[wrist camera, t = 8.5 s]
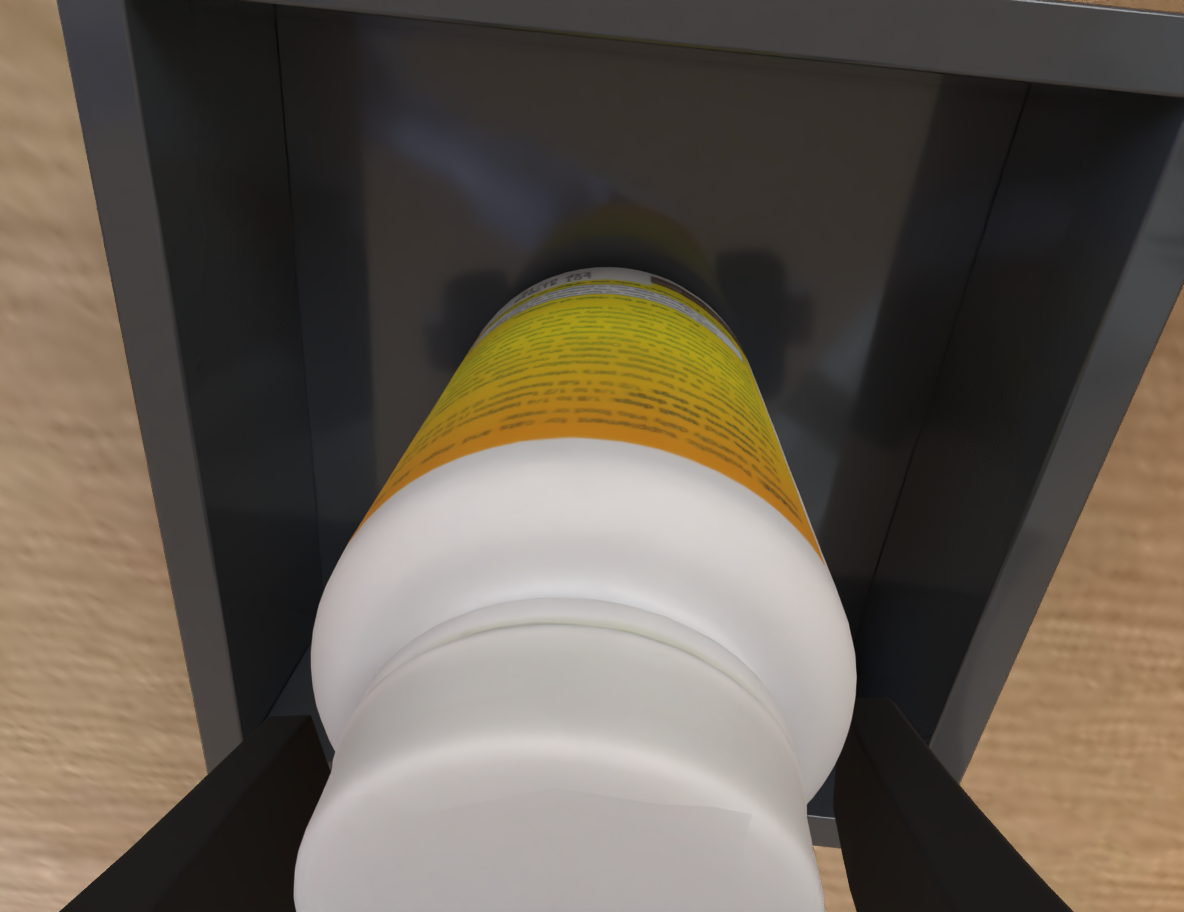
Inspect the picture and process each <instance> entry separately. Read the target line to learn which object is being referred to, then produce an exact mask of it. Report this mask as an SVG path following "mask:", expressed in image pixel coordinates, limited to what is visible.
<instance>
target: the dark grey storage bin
mask: <svg viewBox="0 0 1184 912" xmlns="http://www.w3.org/2000/svg"><path fill="white" fill-rule="evenodd" d="M57 5H58V10H59V15H60V21H61V26H62V31H63V36H64V41H65V46H66V51H67V56H68V61H69V67H70V72H71V77H72V82H73V87H74V92H75V97H76V102H77V108H78V113H79V118H80V123H81V128H82V133H83V138H84V143H85V149H86V154H87V159H88V164H89V169H90V174H91V179H92V184H93V189H94V195H95V200H96V205H97V210H98V215H99V220H100V225H101V230H102V236H103V241H104V246H105V251H106V256H107V261H108V266H109V271H110V277H111V282H112V287H113V292H114V297H115V302H116V307H117V312H118V317H119V323H120V328H121V333H122V338H123V343H124V348H125V353H126V358H127V364H128V369H129V374H130V379H131V384H132V389H133V394H134V399H135V405H136V410H137V415H138V420H139V425H140V430H141V435H142V440H143V446H144V451H145V456H146V461H147V466H148V471H149V476H150V481H151V486H152V492H153V497H154V502H155V507H156V512H157V517H158V522H159V527H160V533H161V538H162V543H163V548H164V553H165V558H166V563H167V568H168V574H169V579H170V584H171V589H172V594H173V599H174V604H175V609H176V614H177V620H178V625H179V630H180V635H181V640H182V645H183V650H184V655H185V661H186V666H187V671H188V676H189V681H190V686H191V691H192V696H193V702H194V707H195V712H196V717H197V722H198V727H199V732H200V737H201V743H202V748H203V753H204V758H205V763H206V768H207V773H208V774H209V773H210V772H211V771H212V770H213V769H214V768H215V767H216V766H217V765H218V764H219V763H220V762H221V761H223V760H224V759H225V758H226V757H227V756H228V755H229V754H230V753H231V752H232V751H233V750H234V749H235V748H236V747H237V746H238V745H239V744H240V743H241V742H242V741H243V740H244V739H245V738H247V737H248V736H249V735H250V734H251V733H252V732H253V731H254V730H255V729H256V728H257V727H258V726H259V725H261V724H262V723H263V722H264V721H265V720H266V719H267V718H268V717H269V716H298V715H311V717H312V720H313V722H314V725H315V728H316V731H317V734H318V737H319V740H320V742H321V745H322V748H323V751H324V754H325V757H326V760H327V762H328V765H329V768H330V771H331V772H332V764H333V758H334V755H335V750H334V748H333V746H332V745H331V743H330V741H329V738H328V736H327V733H326V731H325V728H324V726H323V723H322V721H321V718H320V715H319V712H318V709H317V706H316V701H315V696H314V691H313V684H312V673H311V646H312V636H313V628H314V624H315V619H316V615H317V610H318V606H319V603H320V600H321V598H322V595H323V592H324V590H325V587H326V585H327V583H328V581H329V579H330V577H331V575H332V573H333V571H334V569H335V567H336V565H337V563H338V561H339V559H340V557H341V555H342V554H343V552H344V550H345V548H346V546H347V544H348V542H349V541H350V539H351V538H352V536H353V534H354V533H355V531H356V530H357V528H358V527H359V525H360V523H361V522H362V520H363V519H364V517H365V516H366V514H367V512H368V511H369V509H370V508H371V506H372V504H373V503H374V501H375V500H376V498H377V496H378V495H379V493H380V492H381V490H382V488H383V487H384V485H385V484H386V482H387V480H388V479H389V477H390V476H391V474H392V472H393V471H394V469H395V468H396V466H397V464H398V463H399V461H400V460H401V458H402V456H403V455H404V453H405V452H406V450H407V449H408V447H409V445H410V444H411V442H412V441H413V439H414V437H415V436H416V434H417V433H418V431H419V430H420V428H421V426H422V425H423V423H424V422H425V420H426V419H427V417H428V416H429V414H430V413H431V411H432V409H433V408H434V406H435V405H436V403H437V402H438V400H439V398H440V396H441V395H442V393H443V392H444V390H445V388H446V387H447V385H448V384H449V382H450V380H451V379H452V377H453V375H454V374H455V372H456V371H457V369H458V367H459V366H460V364H461V363H462V361H463V360H464V358H465V356H466V355H467V353H468V352H469V350H470V348H471V347H472V345H473V343H474V342H475V340H476V339H477V337H478V335H479V334H480V332H481V331H482V330H483V329H484V327H485V326H486V325H487V324H488V323H489V321H490V320H491V319H492V318H493V317H494V316H495V315H496V313H497V312H498V311H499V310H500V309H501V308H503V307H504V306H505V305H506V304H507V303H508V302H509V301H510V300H512V299H513V298H514V297H516V296H517V295H519V294H520V293H521V292H523V291H525V290H526V289H528V288H529V287H531V286H533V285H535V284H537V283H539V282H541V281H543V280H546V279H548V278H550V277H553V276H556V275H560V274H563V273H566V272H570V271H575V270H579V269H587V268H595V267H616V268H627V269H633V270H639V271H643V272H647V273H651V274H654V275H657V276H660V277H663V278H665V279H668V280H670V281H672V282H674V283H676V284H678V285H680V286H682V287H683V288H685V289H686V290H688V291H689V292H691V293H692V294H694V295H695V296H697V297H698V298H700V299H701V300H703V301H704V302H705V303H706V304H707V305H709V306H710V307H711V308H712V309H713V310H714V311H715V312H716V313H717V314H718V315H719V316H720V317H721V318H722V320H723V321H724V322H725V323H726V324H727V325H728V327H729V328H730V330H731V331H732V333H733V334H734V335H735V337H736V339H737V340H738V342H739V344H740V345H741V347H742V349H743V351H744V354H745V356H746V358H747V360H748V363H749V365H750V368H751V370H752V373H753V375H754V378H755V380H756V383H757V385H758V388H759V390H760V393H761V395H762V398H763V400H764V403H765V406H766V408H767V411H768V414H769V416H770V419H771V421H772V424H773V426H774V428H775V431H776V434H777V436H778V439H779V442H780V445H781V447H782V450H783V453H784V455H785V458H786V461H787V463H788V466H789V469H790V471H791V474H792V476H793V479H794V481H795V484H796V486H797V489H798V491H799V494H800V496H801V499H802V502H803V504H804V507H805V510H806V512H807V515H808V518H809V520H810V523H811V526H812V528H813V531H814V534H815V536H816V539H817V541H818V544H819V547H820V549H821V552H822V554H823V557H824V559H825V562H826V564H827V567H828V569H829V572H830V574H831V577H832V579H833V581H834V584H835V586H836V589H837V592H838V595H839V598H840V600H841V603H842V606H843V609H844V612H845V614H846V617H847V620H848V623H849V628H850V632H851V637H852V642H853V646H854V651H855V660H856V674H857V680H856V696H855V698H883V697H888V698H889V699H890V700H892V701H893V702H894V703H895V704H896V705H897V706H898V708H899V709H900V710H901V712H902V713H903V714H904V716H905V717H906V718H907V720H908V721H909V722H910V724H911V725H912V726H913V727H914V729H915V730H916V731H917V733H918V734H919V735H920V737H921V738H922V739H923V740H924V742H925V743H926V744H927V746H928V747H929V748H930V749H931V751H932V752H933V753H934V754H935V756H936V757H937V758H938V759H939V761H940V762H941V763H942V764H943V765H944V767H945V768H946V769H947V770H948V772H949V773H950V774H951V775H952V776H953V778H954V779H955V780H956V781H957V783H958V784H959V785H960V782H961V780H962V778H963V776H964V773H965V771H966V769H967V767H968V764H969V762H970V760H971V758H972V756H973V753H974V751H975V749H976V747H977V744H978V742H979V740H980V738H981V735H982V733H983V731H984V729H985V727H986V724H987V722H988V720H989V718H990V715H991V713H992V711H993V709H994V706H995V704H996V702H997V700H998V698H999V695H1000V693H1001V691H1002V689H1003V686H1004V684H1005V682H1006V680H1007V677H1008V675H1009V673H1010V671H1011V669H1012V666H1013V664H1014V662H1015V660H1016V657H1017V655H1018V653H1019V651H1020V648H1021V646H1022V644H1023V642H1024V639H1025V637H1026V635H1027V633H1028V631H1029V628H1030V626H1031V624H1032V622H1033V619H1034V617H1035V615H1036V613H1037V610H1038V608H1039V606H1040V604H1041V602H1042V599H1043V597H1044V595H1045V593H1046V590H1047V588H1048V586H1049V584H1050V581H1051V579H1052V577H1053V575H1054V573H1055V570H1056V568H1057V566H1058V564H1059V561H1060V559H1061V557H1062V555H1063V552H1064V550H1065V548H1066V546H1067V544H1068V541H1069V539H1070V537H1071V535H1072V532H1073V530H1074V528H1075V526H1076V523H1077V521H1078V519H1079V517H1080V515H1081V512H1082V510H1083V508H1084V506H1085V503H1086V501H1087V499H1088V497H1089V494H1090V492H1091V490H1092V488H1093V486H1094V483H1095V481H1096V479H1097V477H1098V474H1099V472H1100V470H1101V468H1102V465H1103V463H1104V461H1105V459H1106V456H1107V454H1108V452H1109V450H1110V448H1111V445H1112V443H1113V441H1114V439H1115V436H1116V434H1117V432H1118V430H1119V427H1120V425H1121V423H1122V421H1123V419H1124V416H1125V414H1126V412H1127V410H1128V407H1129V405H1130V403H1131V401H1132V398H1133V396H1134V394H1135V392H1136V390H1137V387H1138V385H1139V383H1140V381H1141V378H1142V376H1143V374H1144V372H1145V369H1146V367H1147V365H1148V363H1149V361H1150V358H1151V356H1152V354H1153V352H1154V349H1155V347H1156V345H1157V343H1158V340H1159V338H1160V336H1161V334H1162V332H1163V329H1164V327H1165V325H1166V323H1167V320H1168V318H1169V316H1170V314H1171V311H1172V309H1173V307H1174V305H1175V303H1176V300H1177V298H1178V296H1179V294H1180V291H1181V289H1182V287H1183V285H1184V13H1180V12H1170V11H1160V10H1150V9H1141V8H1131V7H1121V6H1111V5H1101V4H1092V3H1082V2H1072V1H1062V0H57ZM835 765H836V763H835ZM834 781H835V766H834V767H833V769H832V771H831V772H830V774H829V776H828V777H827V779H826V780H825V782H824V784H823V785H822V786H821V788H820V789H819V790H818V792H817V793H816V794H815V796H814V797H813V798H812V799H811V800H810V801H809V802H808V804H807V820H808V825H809V830H810V835H811V840H812V845H814V846H823V847H831V848H840V849H841V845H840V840H839V836H838V831H837V826H836V821H835V816H834V811H833V797H834Z"/></svg>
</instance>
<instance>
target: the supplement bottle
mask: <svg viewBox="0 0 1184 912" xmlns="http://www.w3.org/2000/svg"><path fill="white" fill-rule="evenodd" d="M311 673H312V684H313V691H314V696H315V701H316V706H317V709H318V712H319V715H320V718H321V721H322V723H323V726H324V728H325V731H326V733H327V736H328V738H329V741H330V743H331V745H332V746H333V748H334V750H335V755H334V758H333V764H332V772H331V774H330V776H329V779H328V781H327V783H326V786H325V788H324V790H323V793H322V795H321V797H320V800H319V802H318V804H317V806H316V808H315V811H314V813H313V815H312V817H311V819H310V821H309V824H308V826H307V828H306V831H305V833H304V836H303V839H302V842H301V845H300V847H299V850H298V856H297V861H296V866H295V876H294V902H295V908H296V912H825V907H824V893H823V889H822V884H821V880H820V876H819V872H818V867H817V863H816V859H815V854H814V850H813V845H812V840H811V835H810V830H809V825H808V820H807V804H808V802H809V801H810V800H811V799H812V798H813V797H814V796H815V794H816V793H817V792H818V790H819V789H820V788H821V786H822V785H823V784H824V782H825V780H826V779H827V777H828V776H829V774H830V772H831V771H832V769H833V767H834V766H835V763H836V761H837V759H838V757H839V755H840V753H841V750H842V748H843V745H844V742H845V740H846V737H847V734H848V731H849V728H850V724H851V720H852V714H853V709H854V703H855V696H856V680H857V674H856V660H855V651H854V646H853V642H852V637H851V632H850V628H849V623H848V620H847V617H846V614H845V612H844V609H843V606H842V603H841V600H840V598H839V595H838V592H837V589H836V586H835V584H834V581H833V579H832V577H831V574H830V572H829V569H828V567H827V564H826V562H825V559H824V557H823V554H822V552H821V549H820V547H819V544H818V541H817V539H816V536H815V534H814V531H813V528H812V526H811V523H810V520H809V518H808V515H807V512H806V510H805V507H804V504H803V502H802V499H801V496H800V494H799V491H798V489H797V486H796V484H795V481H794V479H793V476H792V474H791V471H790V469H789V466H788V463H787V461H786V458H785V455H784V453H783V450H782V447H781V445H780V442H779V439H778V436H777V434H776V431H775V428H774V426H773V424H772V421H771V419H770V416H769V414H768V411H767V408H766V406H765V403H764V400H763V398H762V395H761V393H760V390H759V388H758V385H757V383H756V380H755V378H754V375H753V373H752V370H751V368H750V365H749V363H748V360H747V358H746V356H745V354H744V351H743V349H742V347H741V345H740V344H739V342H738V340H737V339H736V337H735V335H734V334H733V333H732V331H731V330H730V328H729V327H728V325H727V324H726V323H725V322H724V321H723V320H722V318H721V317H720V316H719V315H718V314H717V313H716V312H715V311H714V310H713V309H712V308H711V307H710V306H709V305H707V304H706V303H705V302H704V301H703V300H701V299H700V298H698V297H697V296H695V295H694V294H692V293H691V292H689V291H688V290H686V289H685V288H683V287H682V286H680V285H678V284H676V283H674V282H672V281H670V280H668V279H665V278H663V277H660V276H657V275H654V274H651V273H647V272H643V271H639V270H633V269H627V268H616V267H595V268H587V269H579V270H575V271H570V272H566V273H563V274H560V275H556V276H553V277H550V278H548V279H546V280H543V281H541V282H539V283H537V284H535V285H533V286H531V287H529V288H528V289H526V290H525V291H523V292H521V293H520V294H519V295H517V296H516V297H514V298H513V299H512V300H510V301H509V302H508V303H507V304H506V305H505V306H504V307H503V308H501V309H500V310H499V311H498V312H497V313H496V315H495V316H494V317H493V318H492V319H491V320H490V321H489V323H488V324H487V325H486V326H485V327H484V329H483V330H482V331H481V332H480V334H479V335H478V337H477V339H476V340H475V342H474V343H473V345H472V347H471V348H470V350H469V352H468V353H467V355H466V356H465V358H464V360H463V361H462V363H461V364H460V366H459V367H458V369H457V371H456V372H455V374H454V375H453V377H452V379H451V380H450V382H449V384H448V385H447V387H446V388H445V390H444V392H443V393H442V395H441V396H440V398H439V400H438V402H437V403H436V405H435V406H434V408H433V409H432V411H431V413H430V414H429V416H428V417H427V419H426V420H425V422H424V423H423V425H422V426H421V428H420V430H419V431H418V433H417V434H416V436H415V437H414V439H413V441H412V442H411V444H410V445H409V447H408V449H407V450H406V452H405V453H404V455H403V456H402V458H401V460H400V461H399V463H398V464H397V466H396V468H395V469H394V471H393V472H392V474H391V476H390V477H389V479H388V480H387V482H386V484H385V485H384V487H383V488H382V490H381V492H380V493H379V495H378V496H377V498H376V500H375V501H374V503H373V504H372V506H371V508H370V509H369V511H368V512H367V514H366V516H365V517H364V519H363V520H362V522H361V523H360V525H359V527H358V528H357V530H356V531H355V533H354V534H353V536H352V538H351V539H350V541H349V542H348V544H347V546H346V548H345V550H344V552H343V554H342V555H341V557H340V559H339V561H338V563H337V565H336V567H335V569H334V571H333V573H332V575H331V577H330V579H329V581H328V583H327V585H326V587H325V590H324V592H323V595H322V598H321V600H320V603H319V606H318V610H317V615H316V619H315V624H314V628H313V636H312V646H311Z"/></svg>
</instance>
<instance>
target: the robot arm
mask: <svg viewBox="0 0 1184 912" xmlns="http://www.w3.org/2000/svg"><path fill="white" fill-rule="evenodd" d="M330 774H331V771H330V768H329V765H328V762H327V760H326V757H325V754H324V751H323V748H322V745H321V742H320V740H319V737H318V734H317V731H316V728H315V725H314V722H313V720H312V717H311V715H298V716H269V717H268V718H267V719H266V720H265V721H264V722H263V723H262V724H261V725H259V726H258V727H257V728H256V729H255V730H254V731H253V732H252V733H251V734H250V735H249V736H248V737H247V738H245V739H244V740H243V741H242V742H241V743H240V744H239V745H238V746H237V747H236V748H235V749H234V750H233V751H232V752H231V753H230V754H229V755H228V756H227V757H226V758H225V759H224V760H223V761H221V762H220V763H219V764H218V765H217V766H216V767H215V768H214V769H213V770H212V771H211V772H210V773H209V774H208V775H207V776H206V777H205V778H204V779H203V780H202V781H201V782H200V783H199V784H198V785H197V786H196V787H195V788H194V789H193V790H191V791H190V792H189V793H188V794H187V795H186V796H185V797H184V798H183V799H182V800H181V801H180V802H179V803H178V804H177V805H176V806H175V807H174V808H173V809H171V810H170V811H169V812H168V813H167V814H166V815H165V816H164V817H163V818H162V819H161V820H160V821H159V822H158V823H157V824H156V825H155V826H154V827H152V828H151V829H150V830H149V831H148V832H147V833H146V834H145V835H144V836H143V837H142V838H141V839H140V840H139V841H138V842H137V843H136V844H135V845H133V846H132V847H131V848H130V849H129V850H128V851H127V852H126V853H125V854H124V855H123V856H121V857H120V858H119V859H118V860H117V861H116V862H115V863H114V864H112V865H111V866H110V867H109V868H108V869H107V870H106V871H104V872H103V873H102V874H101V875H100V876H99V877H98V878H97V879H95V880H94V881H93V882H92V883H91V884H90V885H89V886H88V887H86V888H85V889H84V890H83V891H82V892H81V893H80V894H79V895H77V896H76V897H75V898H74V899H73V900H72V901H71V902H70V903H68V904H67V905H66V906H65V907H64V908H63V909H62V910H61V911H59V912H296V908H295V902H294V876H295V866H296V861H297V856H298V850H299V847H300V845H301V842H302V839H303V836H304V833H305V831H306V828H307V826H308V824H309V821H310V819H311V817H312V815H313V813H314V811H315V808H316V806H317V804H318V802H319V800H320V797H321V795H322V793H323V790H324V788H325V786H326V783H327V781H328V779H329V776H330ZM833 811H834V816H835V821H836V826H837V831H838V836H839V840H840V845H841V850H842V855H843V860H844V864H845V869H846V874H847V878H848V883H849V887H850V891H851V895H852V898H853V901H854V904H855V908H856V911H857V912H1073V911H1072V910H1071V909H1070V908H1069V907H1068V906H1067V905H1066V904H1065V902H1064V901H1063V900H1062V899H1061V898H1060V897H1059V896H1058V895H1057V894H1056V893H1055V892H1054V891H1053V890H1052V889H1051V888H1050V887H1049V886H1048V885H1047V884H1046V883H1045V881H1044V880H1043V879H1042V878H1041V877H1040V876H1039V875H1038V874H1037V873H1036V872H1035V871H1034V870H1033V868H1032V867H1031V866H1030V865H1029V864H1028V863H1027V862H1026V861H1025V860H1024V859H1023V858H1022V856H1021V855H1020V854H1019V853H1018V852H1017V851H1016V850H1015V849H1014V847H1013V846H1012V845H1011V844H1010V843H1009V842H1008V841H1007V839H1006V838H1005V837H1004V836H1003V835H1002V834H1001V833H1000V832H999V830H998V829H997V828H996V827H995V826H994V825H993V824H992V822H991V821H990V820H989V819H988V818H987V817H986V816H985V815H984V813H983V812H982V811H981V810H980V809H979V808H978V806H977V805H976V804H975V803H974V802H973V801H972V799H971V798H970V797H969V796H968V795H967V793H966V792H965V791H964V790H963V789H962V787H961V786H960V785H959V784H958V783H957V781H956V780H955V779H954V778H953V776H952V775H951V774H950V773H949V772H948V770H947V769H946V768H945V767H944V765H943V764H942V763H941V762H940V761H939V759H938V758H937V757H936V756H935V754H934V753H933V752H932V751H931V749H930V748H929V747H928V746H927V744H926V743H925V742H924V740H923V739H922V738H921V737H920V735H919V734H918V733H917V731H916V730H915V729H914V727H913V726H912V725H911V724H910V722H909V721H908V720H907V718H906V717H905V716H904V714H903V713H902V712H901V710H900V709H899V708H898V706H897V705H896V704H895V703H894V702H893V701H892V700H890V699H889V698H888V697H883V698H855V703H854V709H853V714H852V720H851V724H850V728H849V731H848V734H847V737H846V740H845V742H844V745H843V748H842V750H841V753H840V755H839V757H838V759H837V761H836V765H835V781H834V797H833Z"/></svg>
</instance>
